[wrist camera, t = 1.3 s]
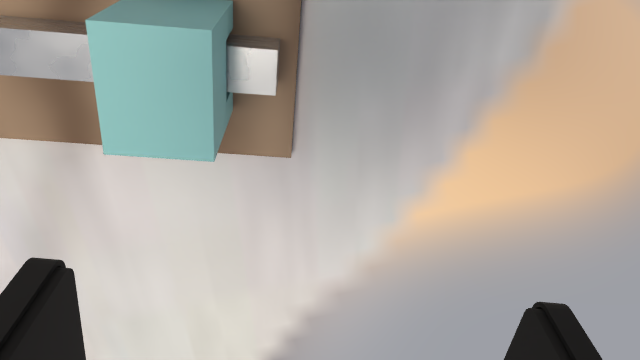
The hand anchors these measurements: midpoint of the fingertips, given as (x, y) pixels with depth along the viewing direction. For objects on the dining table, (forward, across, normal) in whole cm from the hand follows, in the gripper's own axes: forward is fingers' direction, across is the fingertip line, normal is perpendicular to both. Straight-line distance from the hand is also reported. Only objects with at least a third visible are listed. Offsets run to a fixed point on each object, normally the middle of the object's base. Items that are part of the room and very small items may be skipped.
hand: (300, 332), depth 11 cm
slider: (+20, +7, 0) cm, 21 cm away
